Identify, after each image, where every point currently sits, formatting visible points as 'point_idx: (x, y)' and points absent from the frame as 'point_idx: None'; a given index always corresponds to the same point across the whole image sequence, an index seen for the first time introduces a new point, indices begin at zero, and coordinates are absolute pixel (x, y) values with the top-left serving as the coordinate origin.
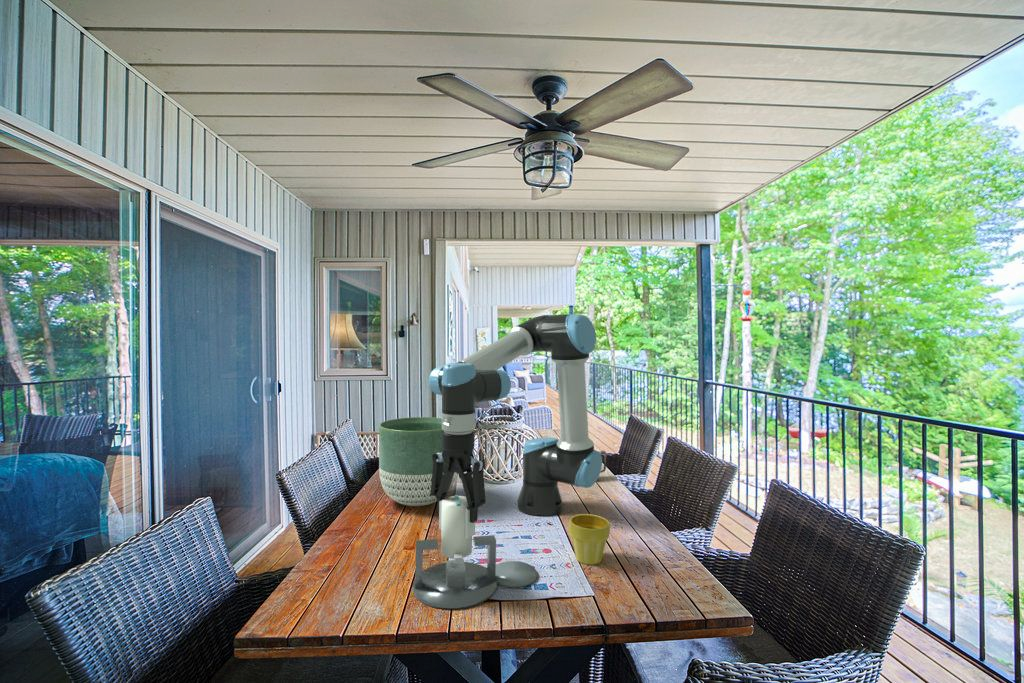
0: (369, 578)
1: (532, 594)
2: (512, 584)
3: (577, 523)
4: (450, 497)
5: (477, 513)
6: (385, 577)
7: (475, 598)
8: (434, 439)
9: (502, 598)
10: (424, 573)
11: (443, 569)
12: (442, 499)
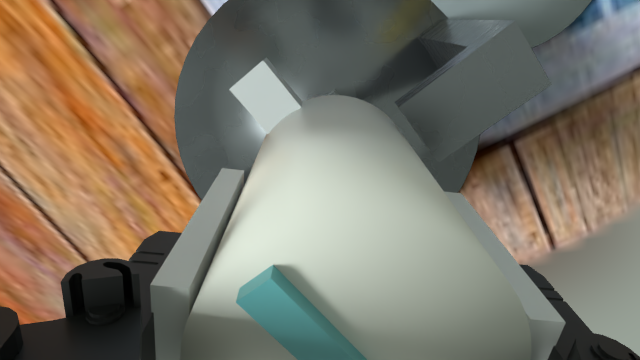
0: (54, 228)
1: (612, 50)
2: (534, 45)
3: None
4: (215, 324)
5: (568, 309)
6: (89, 200)
7: (442, 189)
8: None
9: (513, 124)
10: (194, 141)
11: (234, 80)
12: (153, 352)
